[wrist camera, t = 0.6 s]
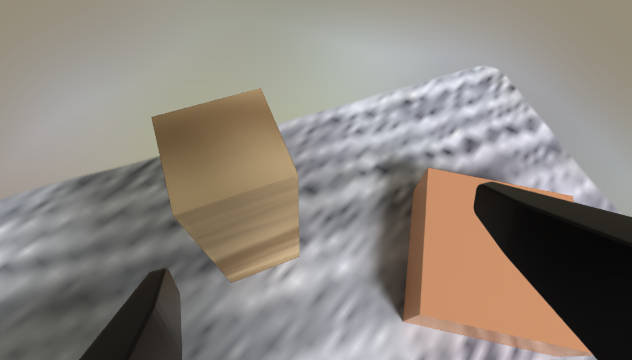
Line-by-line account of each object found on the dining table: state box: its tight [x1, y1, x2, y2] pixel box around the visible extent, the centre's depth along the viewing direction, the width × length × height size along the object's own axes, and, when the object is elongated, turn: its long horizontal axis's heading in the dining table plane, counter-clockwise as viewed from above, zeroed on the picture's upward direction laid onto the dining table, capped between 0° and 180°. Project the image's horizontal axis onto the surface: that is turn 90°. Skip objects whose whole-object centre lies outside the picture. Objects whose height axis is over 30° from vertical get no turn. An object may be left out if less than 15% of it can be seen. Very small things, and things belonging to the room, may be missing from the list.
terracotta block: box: [403, 168, 594, 357], centre depth 23 cm, size 10×10×4 cm
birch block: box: [152, 88, 299, 283], centre depth 20 cm, size 5×5×12 cm
